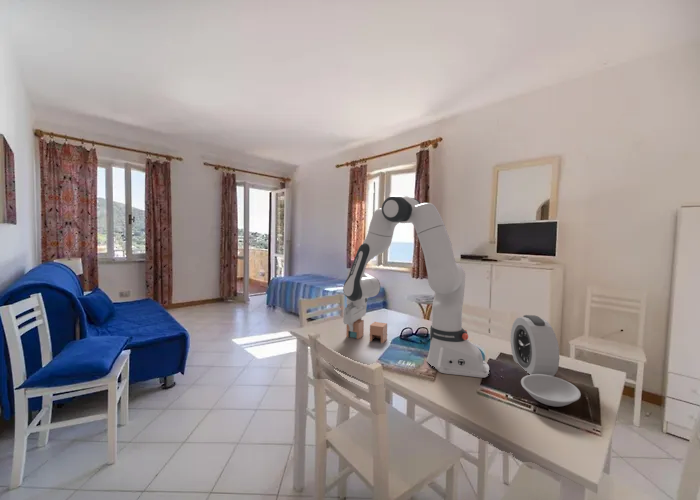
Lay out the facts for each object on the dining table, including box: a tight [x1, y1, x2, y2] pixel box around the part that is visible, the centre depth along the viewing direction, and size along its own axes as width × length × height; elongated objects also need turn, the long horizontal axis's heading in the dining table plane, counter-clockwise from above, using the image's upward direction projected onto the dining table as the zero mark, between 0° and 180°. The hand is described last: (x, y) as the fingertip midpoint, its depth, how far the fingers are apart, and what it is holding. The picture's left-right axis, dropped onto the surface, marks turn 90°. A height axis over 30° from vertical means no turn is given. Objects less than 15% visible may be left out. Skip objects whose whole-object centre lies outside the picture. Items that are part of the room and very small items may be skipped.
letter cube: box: [349, 331, 357, 339], centre depth 142 cm, size 4×4×4 cm
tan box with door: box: [345, 319, 365, 340], centre depth 142 cm, size 6×6×8 cm
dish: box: [520, 374, 582, 408], centre depth 86 cm, size 18×14×5 cm
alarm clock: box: [510, 314, 560, 377], centre depth 109 cm, size 21×8×20 cm, turn 172°
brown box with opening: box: [369, 321, 388, 344], centre depth 137 cm, size 6×6×8 cm
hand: (355, 328), depth 142 cm, fingers closed on tan box with door, 6 cm apart
